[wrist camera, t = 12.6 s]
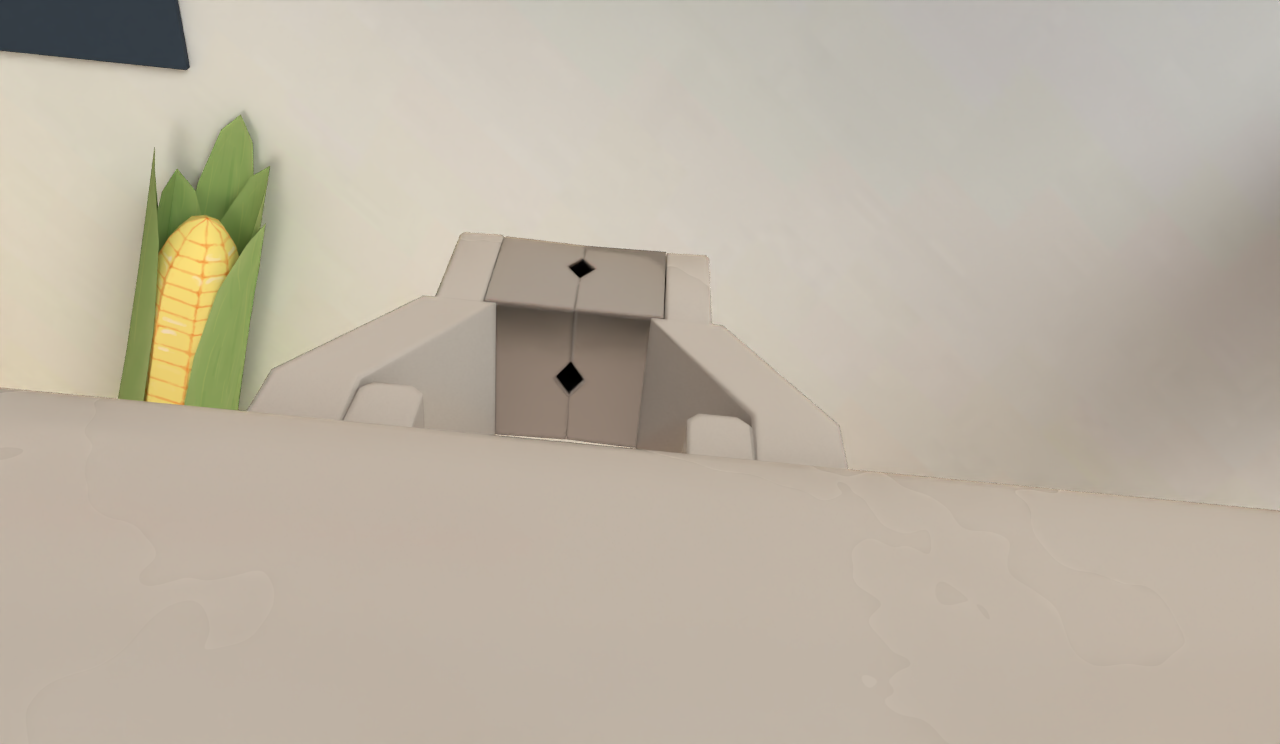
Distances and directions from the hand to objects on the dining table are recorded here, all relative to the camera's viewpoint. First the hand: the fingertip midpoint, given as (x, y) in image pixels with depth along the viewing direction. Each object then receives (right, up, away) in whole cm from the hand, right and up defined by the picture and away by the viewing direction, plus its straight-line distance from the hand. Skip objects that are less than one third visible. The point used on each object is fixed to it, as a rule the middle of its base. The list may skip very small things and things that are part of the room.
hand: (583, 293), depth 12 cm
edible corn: (-18, +1, +30) cm, 35 cm away
